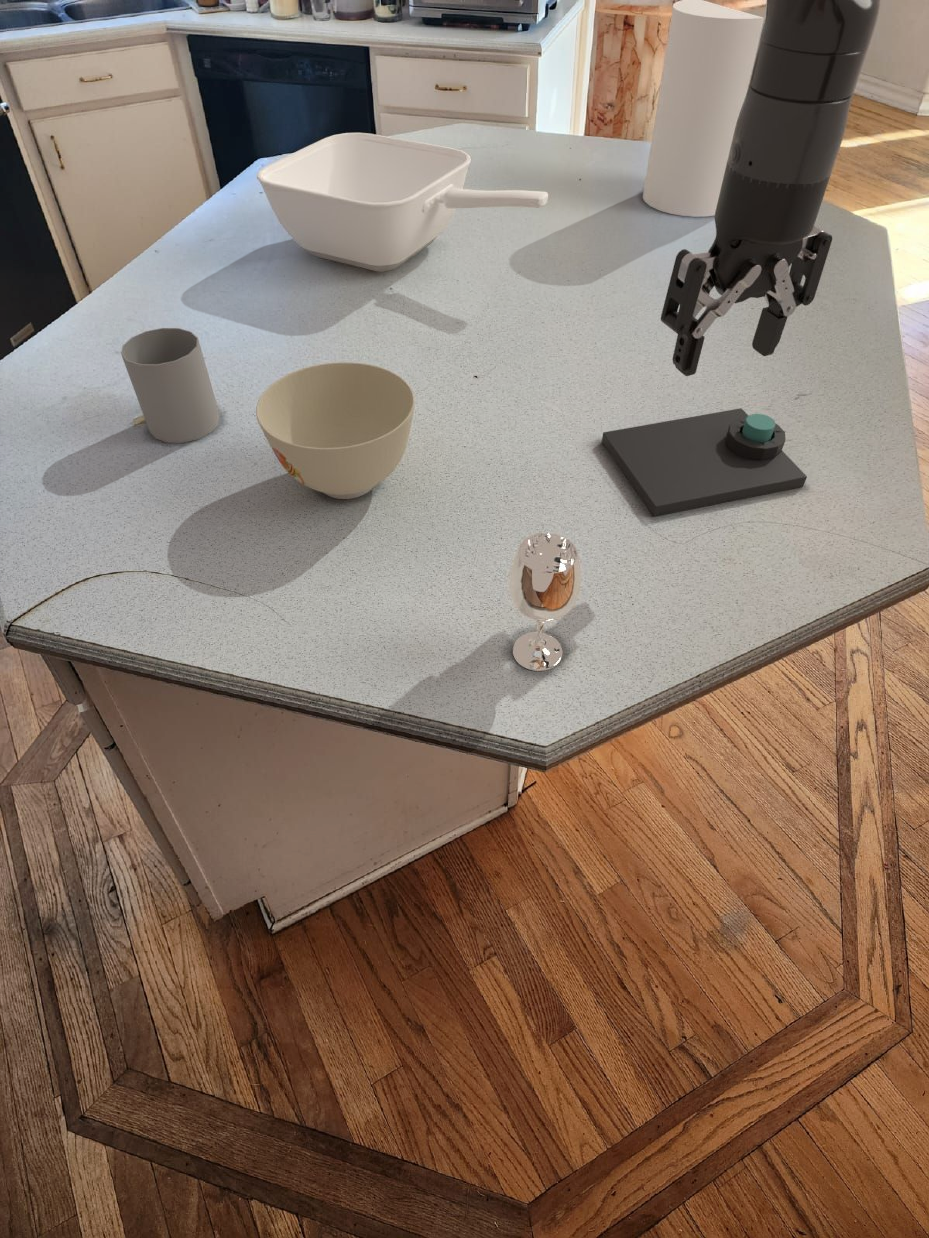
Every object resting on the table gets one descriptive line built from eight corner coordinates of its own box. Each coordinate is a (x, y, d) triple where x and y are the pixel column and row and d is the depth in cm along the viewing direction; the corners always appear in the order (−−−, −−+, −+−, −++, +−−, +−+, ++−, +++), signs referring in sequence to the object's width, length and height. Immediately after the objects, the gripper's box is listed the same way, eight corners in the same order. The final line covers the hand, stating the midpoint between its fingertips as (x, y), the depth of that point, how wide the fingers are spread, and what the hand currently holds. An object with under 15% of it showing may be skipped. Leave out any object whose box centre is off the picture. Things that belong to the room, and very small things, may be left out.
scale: (742, 417, 92) (749, 395, 90) (807, 486, 83) (816, 463, 81) (601, 442, 89) (604, 420, 87) (653, 516, 80) (658, 494, 78)
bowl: (267, 452, 88) (248, 374, 80) (401, 430, 91) (395, 352, 83) (284, 541, 77) (264, 461, 70) (435, 513, 80) (431, 433, 73)
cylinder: (678, 223, 133) (717, 23, 112) (624, 191, 143) (651, 2, 123) (757, 207, 138) (808, 12, 117) (699, 177, 148) (737, -6, 127)
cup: (231, 427, 91) (210, 349, 84) (166, 451, 88) (138, 373, 81) (202, 396, 96) (179, 320, 88) (139, 419, 93) (110, 342, 85)
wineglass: (501, 672, 66) (506, 574, 57) (509, 623, 70) (515, 524, 61) (567, 680, 65) (582, 582, 56) (572, 631, 69) (587, 532, 60)
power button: (761, 424, 87) (765, 411, 85) (776, 440, 84) (781, 427, 83) (736, 429, 86) (740, 416, 85) (751, 445, 84) (755, 431, 83)
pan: (352, 209, 138) (343, 124, 128) (573, 257, 124) (583, 166, 114) (258, 265, 122) (239, 173, 112) (499, 327, 108) (503, 228, 98)
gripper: (733, 193, 52) (682, 400, 64) (890, 163, 56) (814, 364, 68) (670, 158, 56) (633, 358, 69) (820, 133, 60) (760, 327, 72)
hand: (723, 361), depth 68 cm, fingers open, 8 cm apart
